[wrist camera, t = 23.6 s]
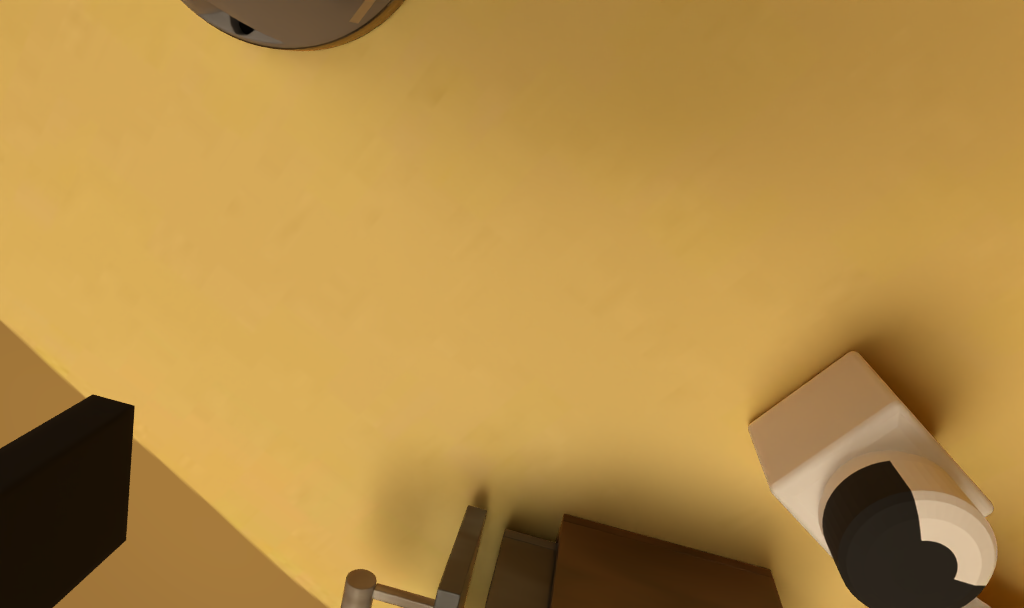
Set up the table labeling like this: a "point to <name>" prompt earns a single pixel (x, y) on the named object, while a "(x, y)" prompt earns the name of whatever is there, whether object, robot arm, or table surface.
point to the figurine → (976, 604)
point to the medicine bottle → (877, 491)
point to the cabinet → (649, 573)
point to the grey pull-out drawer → (515, 583)
